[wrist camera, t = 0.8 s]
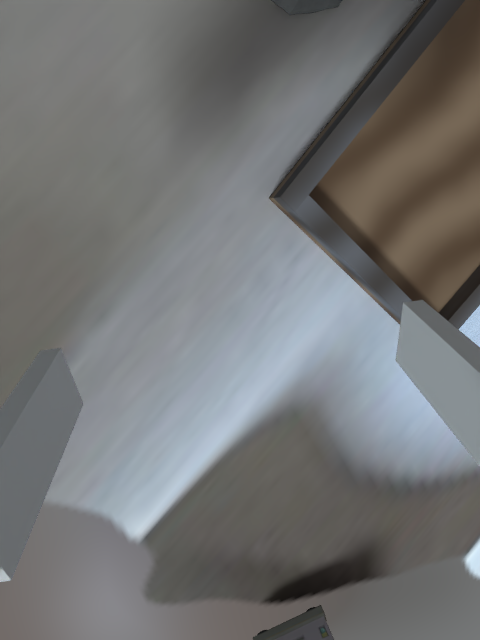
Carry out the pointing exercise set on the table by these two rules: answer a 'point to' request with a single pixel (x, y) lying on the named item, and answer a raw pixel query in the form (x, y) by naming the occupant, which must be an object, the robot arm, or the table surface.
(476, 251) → the tray
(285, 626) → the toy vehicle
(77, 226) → the table surface
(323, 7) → the coffeepot
